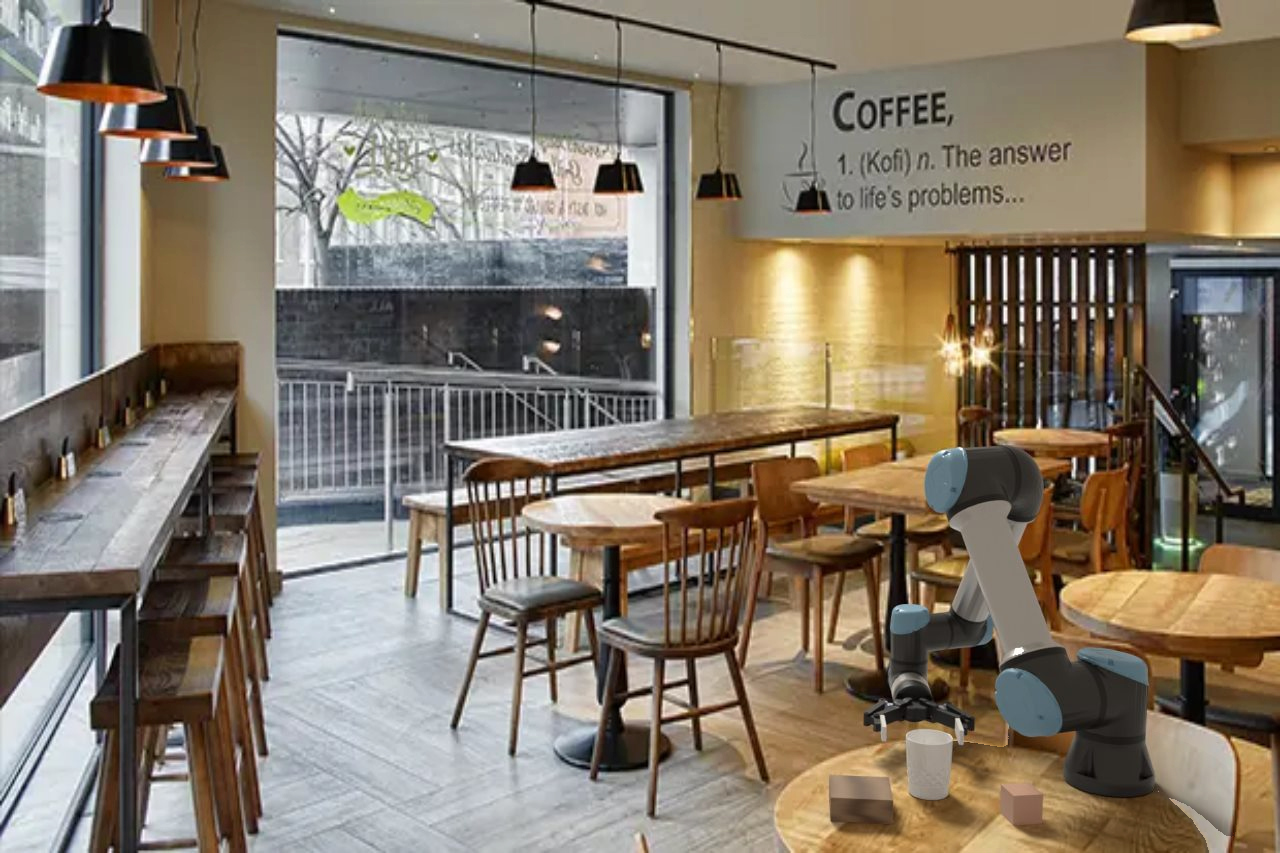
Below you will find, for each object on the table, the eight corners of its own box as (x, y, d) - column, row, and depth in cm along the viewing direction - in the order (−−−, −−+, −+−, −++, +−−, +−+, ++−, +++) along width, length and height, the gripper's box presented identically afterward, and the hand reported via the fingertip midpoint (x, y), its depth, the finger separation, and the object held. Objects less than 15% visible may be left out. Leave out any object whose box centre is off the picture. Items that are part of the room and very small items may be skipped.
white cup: (952, 803, 215) (953, 746, 214) (904, 800, 216) (906, 743, 215) (950, 786, 222) (952, 730, 221) (904, 782, 224) (905, 727, 223)
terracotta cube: (1028, 811, 211) (1029, 782, 211) (1042, 823, 206) (1043, 794, 206) (999, 813, 211) (1000, 784, 210) (1012, 825, 206) (1013, 796, 205)
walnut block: (888, 800, 216) (888, 777, 216) (892, 824, 206) (893, 800, 206) (828, 797, 217) (829, 774, 217) (830, 821, 207) (830, 797, 207)
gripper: (977, 719, 248) (993, 759, 227) (847, 713, 251) (851, 752, 230) (978, 681, 247) (994, 718, 226) (848, 676, 250) (852, 712, 229)
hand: (922, 736), depth 228 cm, fingers open, 13 cm apart
